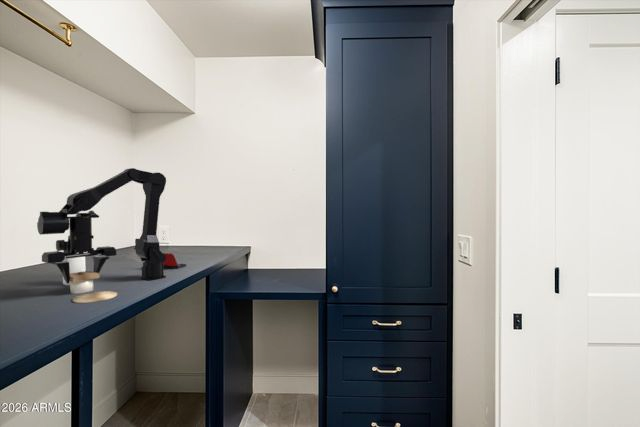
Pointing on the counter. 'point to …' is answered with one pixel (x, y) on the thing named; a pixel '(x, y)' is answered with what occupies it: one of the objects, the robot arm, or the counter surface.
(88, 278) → the lid
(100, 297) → the disc
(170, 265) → the red cap
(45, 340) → the counter surface
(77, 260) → the can
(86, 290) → the white short cylinder
